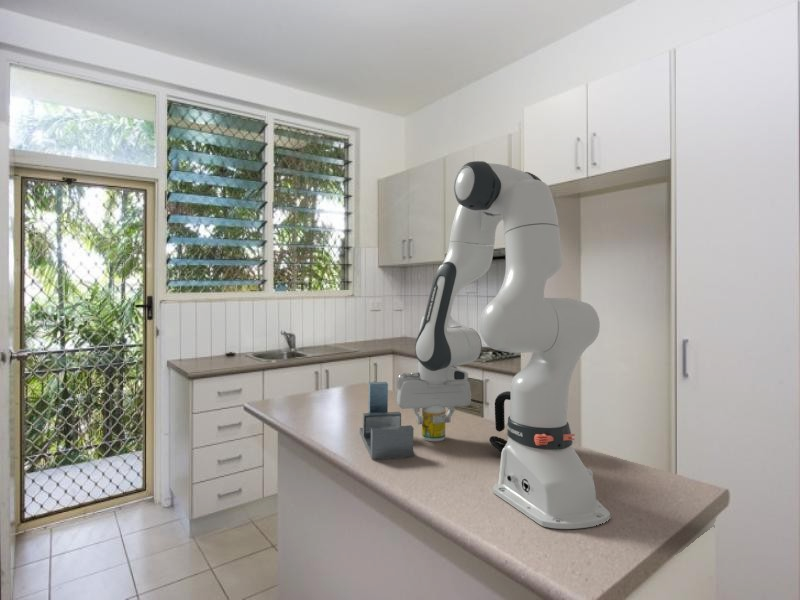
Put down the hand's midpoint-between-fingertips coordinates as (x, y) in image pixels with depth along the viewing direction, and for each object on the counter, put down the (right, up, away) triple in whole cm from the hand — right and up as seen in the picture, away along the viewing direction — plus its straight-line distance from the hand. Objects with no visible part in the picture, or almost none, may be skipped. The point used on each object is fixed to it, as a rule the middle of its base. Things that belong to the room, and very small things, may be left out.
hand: (433, 423), depth 122 cm
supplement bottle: (0, -4, 0) cm, 4 cm away
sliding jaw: (-15, -2, +1) cm, 15 cm away
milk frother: (+21, -5, -8) cm, 23 cm away
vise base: (-13, -4, -5) cm, 15 cm away
